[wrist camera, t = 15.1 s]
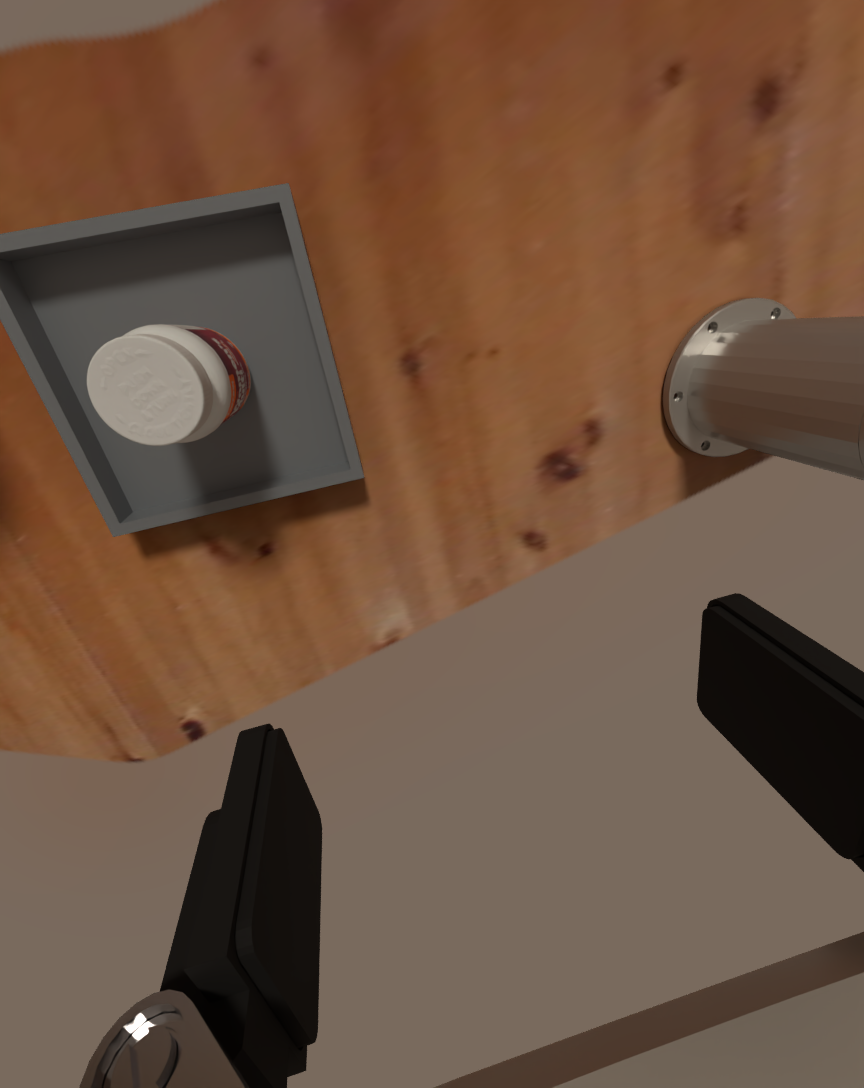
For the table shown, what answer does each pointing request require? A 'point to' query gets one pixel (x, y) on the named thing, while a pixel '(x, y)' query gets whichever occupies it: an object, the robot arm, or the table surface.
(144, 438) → the pill bottle
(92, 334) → the tray
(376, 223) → the table surface
